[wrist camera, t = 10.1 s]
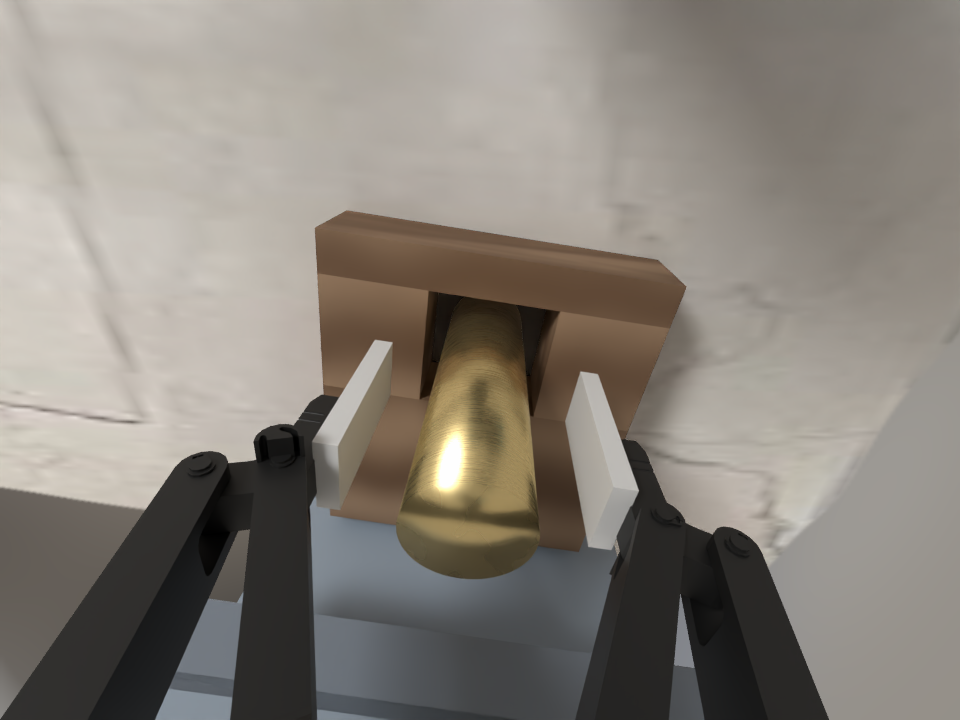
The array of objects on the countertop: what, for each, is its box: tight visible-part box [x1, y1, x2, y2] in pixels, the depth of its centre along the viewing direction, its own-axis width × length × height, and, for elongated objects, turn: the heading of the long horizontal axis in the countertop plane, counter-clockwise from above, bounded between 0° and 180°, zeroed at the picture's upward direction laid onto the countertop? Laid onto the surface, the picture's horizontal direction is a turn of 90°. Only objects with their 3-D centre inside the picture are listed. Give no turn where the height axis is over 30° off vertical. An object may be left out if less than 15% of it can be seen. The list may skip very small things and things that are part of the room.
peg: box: [396, 297, 540, 579], centre depth 18 cm, size 4×4×14 cm
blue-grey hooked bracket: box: [155, 496, 705, 720], centre depth 22 cm, size 7×22×16 cm, turn 82°
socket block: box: [315, 211, 686, 552], centre depth 24 cm, size 18×16×4 cm
